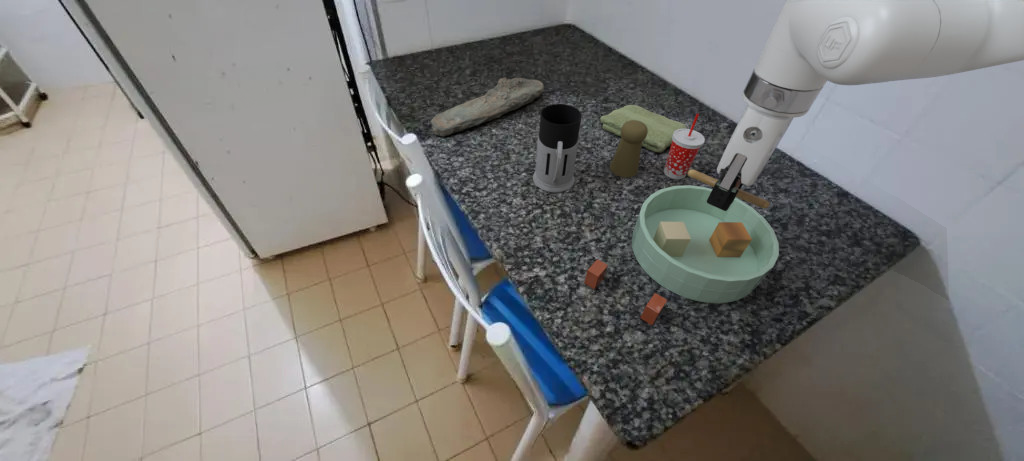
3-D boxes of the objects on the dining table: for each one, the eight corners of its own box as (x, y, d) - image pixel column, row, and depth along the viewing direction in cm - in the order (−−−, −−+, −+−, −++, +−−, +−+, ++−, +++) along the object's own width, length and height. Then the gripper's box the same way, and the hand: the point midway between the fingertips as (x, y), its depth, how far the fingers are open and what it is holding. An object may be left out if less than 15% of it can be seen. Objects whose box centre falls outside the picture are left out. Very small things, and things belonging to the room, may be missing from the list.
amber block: (731, 240, 69) (742, 222, 66) (740, 257, 67) (752, 239, 63) (708, 239, 69) (718, 222, 66) (716, 257, 67) (727, 239, 63)
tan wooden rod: (767, 206, 56) (772, 200, 56) (765, 211, 56) (769, 205, 55) (688, 172, 62) (691, 166, 61) (685, 176, 61) (687, 170, 60)
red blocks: (660, 312, 60) (667, 299, 57) (652, 325, 58) (658, 313, 56) (593, 272, 65) (597, 258, 62) (584, 283, 63) (587, 270, 61)
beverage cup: (683, 185, 81) (709, 126, 71) (655, 174, 83) (676, 115, 73) (693, 171, 84) (719, 112, 74) (666, 160, 87) (687, 102, 77)
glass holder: (574, 167, 85) (584, 103, 74) (575, 212, 75) (587, 146, 64) (533, 164, 85) (538, 100, 74) (530, 209, 75) (534, 143, 65)
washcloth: (626, 109, 102) (629, 97, 100) (687, 136, 94) (692, 124, 91) (595, 127, 96) (597, 115, 94) (658, 158, 87) (662, 146, 85)
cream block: (675, 239, 69) (683, 221, 66) (682, 256, 67) (691, 239, 63) (652, 239, 69) (660, 221, 66) (658, 256, 66) (666, 238, 63)
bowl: (776, 246, 70) (794, 222, 65) (736, 328, 58) (754, 306, 54) (663, 194, 79) (672, 170, 75) (609, 256, 67) (616, 232, 63)
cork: (608, 174, 83) (618, 129, 75) (611, 158, 87) (622, 113, 79) (636, 179, 82) (651, 134, 74) (638, 163, 86) (652, 118, 78)
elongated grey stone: (423, 130, 96) (446, 150, 91) (419, 112, 92) (443, 131, 87) (527, 81, 111) (552, 96, 106) (528, 64, 107) (553, 78, 102)
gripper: (797, 128, 41) (725, 243, 55) (828, 78, 50) (759, 188, 63) (726, 104, 45) (675, 218, 58) (766, 61, 53) (713, 169, 66)
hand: (719, 202), depth 60 cm, fingers closed on tan wooden rod, 1 cm apart
